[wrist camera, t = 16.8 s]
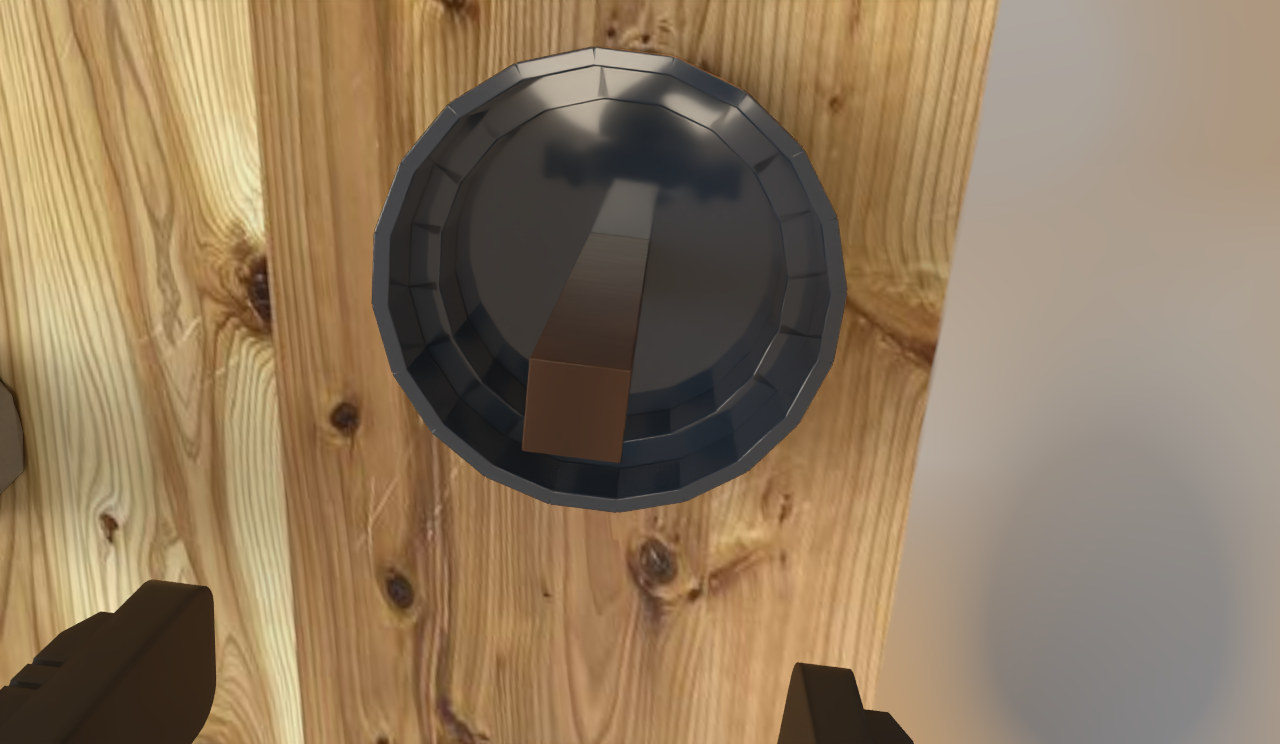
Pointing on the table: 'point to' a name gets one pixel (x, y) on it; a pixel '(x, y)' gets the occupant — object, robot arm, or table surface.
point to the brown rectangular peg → (588, 354)
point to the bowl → (621, 206)
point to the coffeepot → (9, 440)
